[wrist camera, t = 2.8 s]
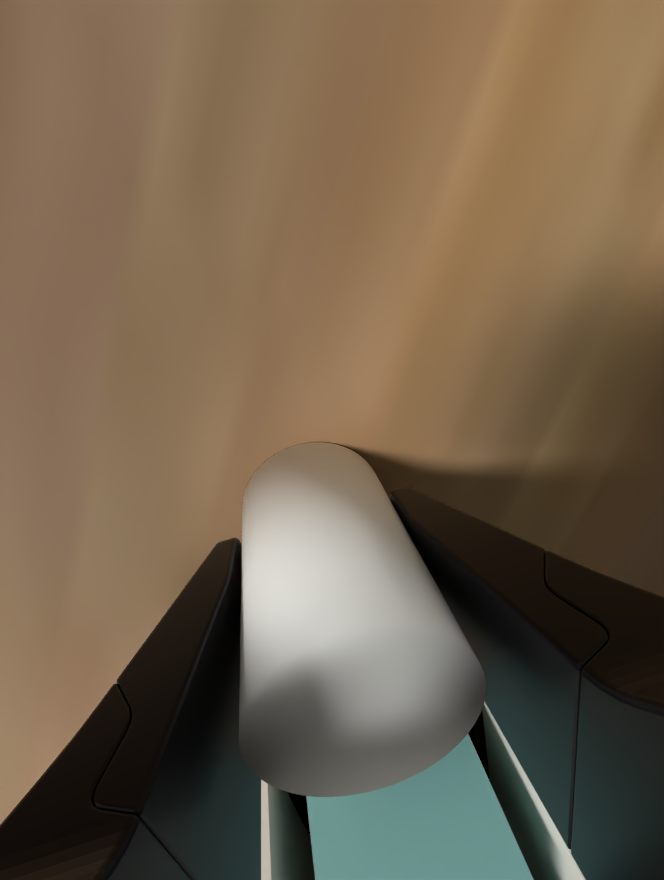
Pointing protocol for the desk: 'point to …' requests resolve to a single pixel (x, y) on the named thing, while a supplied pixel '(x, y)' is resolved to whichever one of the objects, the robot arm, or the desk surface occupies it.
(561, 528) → the desk surface
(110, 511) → the desk surface
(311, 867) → the white box
